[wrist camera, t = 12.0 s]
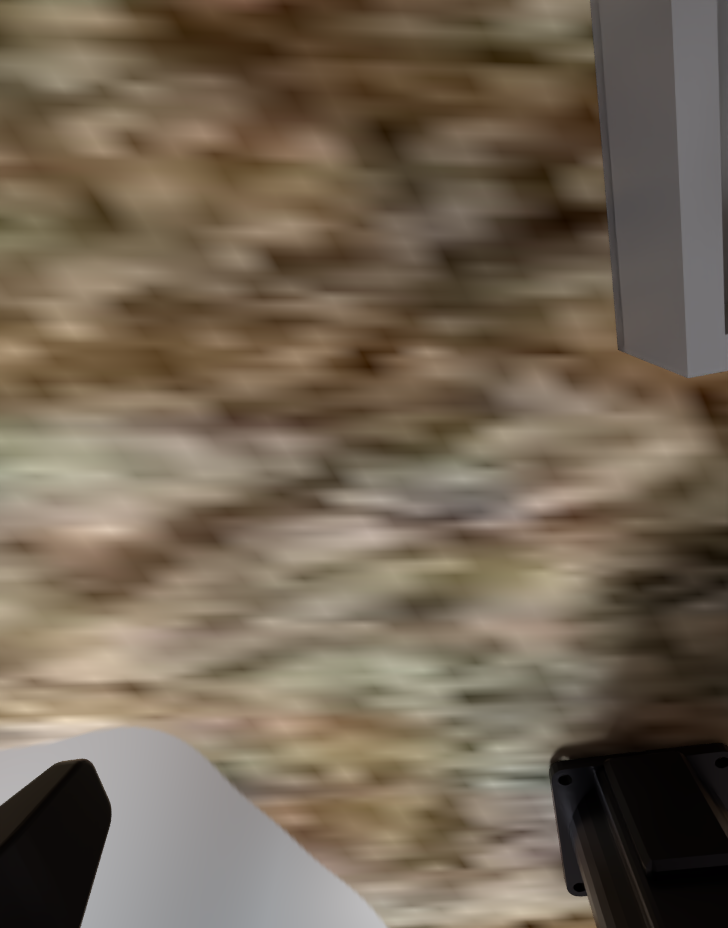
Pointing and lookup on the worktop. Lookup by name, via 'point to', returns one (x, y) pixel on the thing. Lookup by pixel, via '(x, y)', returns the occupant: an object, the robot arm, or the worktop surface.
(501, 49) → the worktop surface
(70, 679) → the worktop surface
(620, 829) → the robot arm
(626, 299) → the box
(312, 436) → the worktop surface
